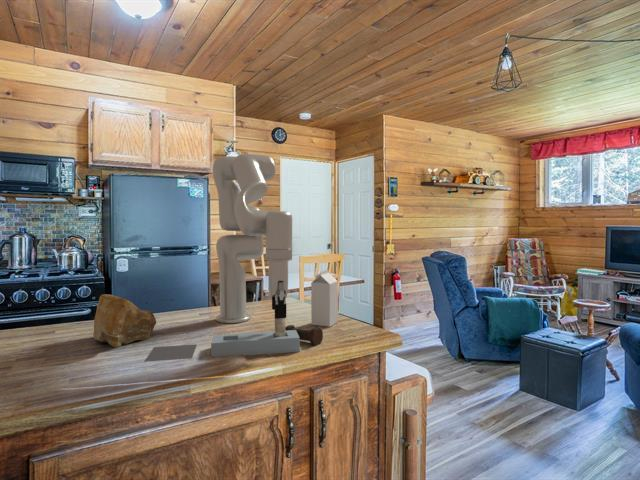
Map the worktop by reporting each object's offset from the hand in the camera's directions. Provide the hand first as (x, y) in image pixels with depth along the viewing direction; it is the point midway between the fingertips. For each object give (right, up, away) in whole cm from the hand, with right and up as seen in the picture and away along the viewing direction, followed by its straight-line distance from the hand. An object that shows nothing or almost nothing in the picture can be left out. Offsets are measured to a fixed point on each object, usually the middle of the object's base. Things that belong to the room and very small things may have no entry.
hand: (278, 313), depth 116 cm
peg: (0, -10, 0) cm, 10 cm away
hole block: (-6, -10, -2) cm, 12 cm away
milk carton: (+14, -9, +27) cm, 31 cm away
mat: (-29, -11, -4) cm, 31 cm away
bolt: (+5, -10, +7) cm, 14 cm away
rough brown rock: (-48, -10, +9) cm, 50 cm away
